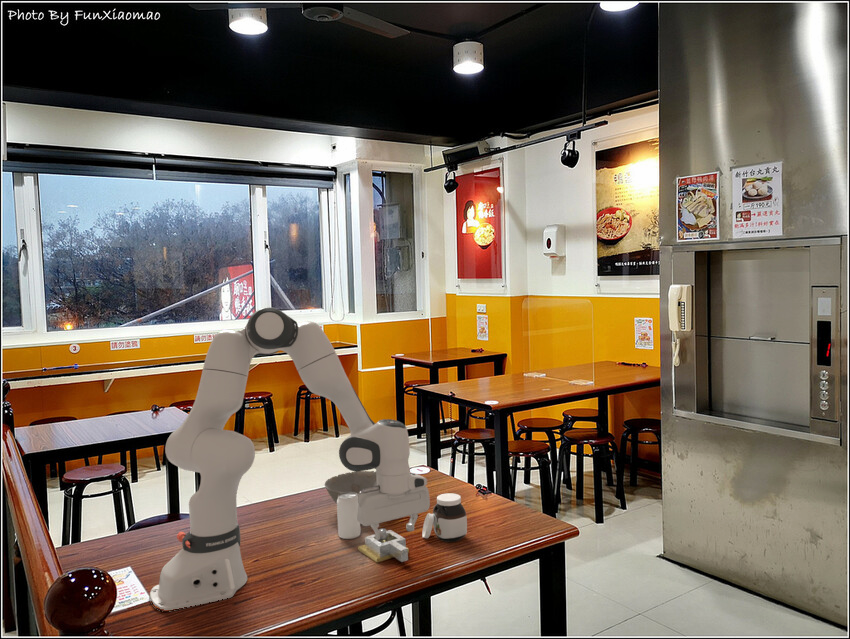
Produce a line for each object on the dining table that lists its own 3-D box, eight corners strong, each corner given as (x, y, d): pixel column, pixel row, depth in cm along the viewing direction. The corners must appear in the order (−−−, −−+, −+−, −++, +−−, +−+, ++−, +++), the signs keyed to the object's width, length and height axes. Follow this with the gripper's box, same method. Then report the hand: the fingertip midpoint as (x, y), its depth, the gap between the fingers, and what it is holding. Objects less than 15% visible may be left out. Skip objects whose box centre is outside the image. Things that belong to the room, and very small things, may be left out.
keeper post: (376, 562, 165) (375, 540, 165) (358, 550, 173) (357, 528, 173) (408, 552, 171) (407, 530, 170) (389, 540, 179) (388, 519, 179)
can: (356, 540, 180) (354, 499, 180) (335, 539, 182) (333, 498, 181) (363, 531, 187) (361, 491, 186) (342, 530, 188) (340, 491, 187)
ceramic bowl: (342, 530, 188) (340, 497, 187) (316, 508, 208) (314, 478, 207) (408, 514, 199) (406, 483, 198) (377, 495, 219) (375, 466, 218)
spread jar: (471, 539, 177) (470, 499, 177) (437, 549, 172) (435, 507, 171) (448, 526, 188) (446, 488, 187) (415, 535, 182) (413, 496, 181)
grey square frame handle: (417, 556, 165) (417, 545, 165) (391, 565, 161) (390, 553, 161) (390, 540, 177) (390, 529, 177) (365, 547, 172) (365, 537, 172)
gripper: (363, 492, 156) (365, 548, 156) (432, 478, 167) (433, 529, 167) (352, 486, 161) (353, 540, 162) (419, 472, 172) (420, 522, 173)
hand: (394, 534), depth 165 cm, fingers open, 8 cm apart
